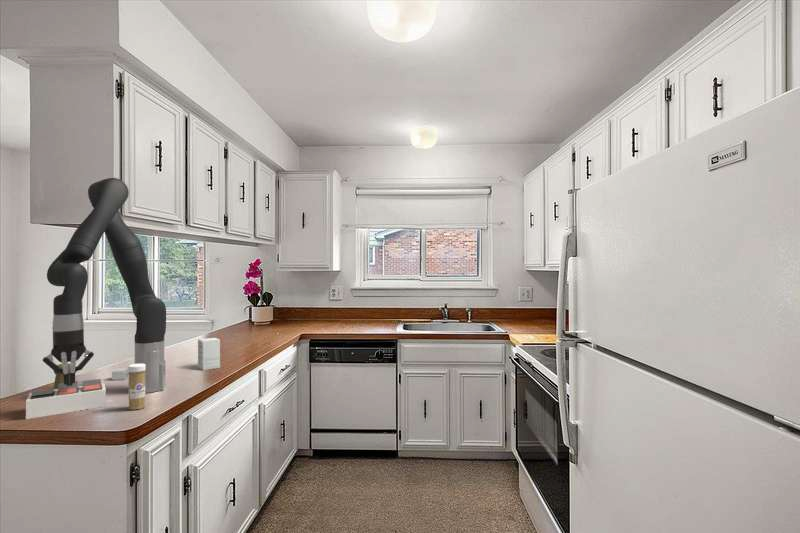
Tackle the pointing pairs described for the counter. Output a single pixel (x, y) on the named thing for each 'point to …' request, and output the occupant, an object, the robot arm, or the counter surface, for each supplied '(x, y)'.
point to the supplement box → (208, 353)
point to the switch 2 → (91, 385)
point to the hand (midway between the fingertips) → (69, 385)
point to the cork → (60, 377)
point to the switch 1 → (43, 392)
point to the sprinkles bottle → (136, 386)
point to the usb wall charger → (120, 374)
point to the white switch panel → (64, 402)
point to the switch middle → (67, 388)
